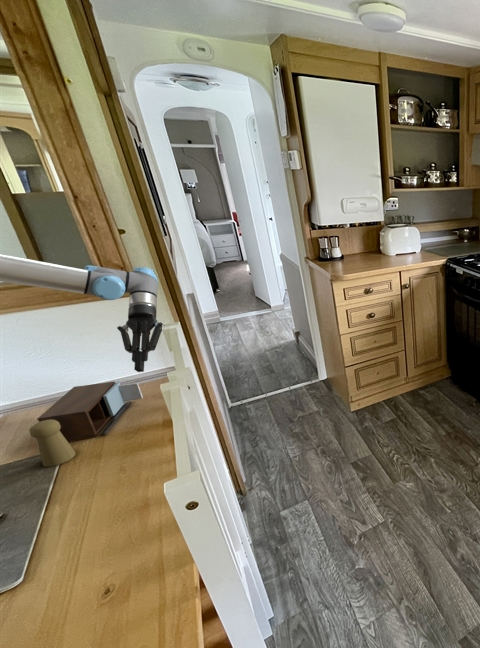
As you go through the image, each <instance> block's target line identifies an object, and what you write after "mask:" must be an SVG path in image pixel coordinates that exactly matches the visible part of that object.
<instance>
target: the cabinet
mask: <svg viewBox="0 0 480 648" xmlns="http://www.w3.org/2000/svg"><path fill="white" fill-rule="evenodd" d="M115 383H116V381H108V382H100V383H99V382H98V383H92V384H85V385H75V386H73V387H72V388H71V389H69V390H68V391H67V392H66V393H65V394H63V396H61V397H60V398H59V399H58V400H57V401H56V402H55V403H53V404H52V405H51V406H50V407H48V409H46V410H45V411H44V412H43V413H42V414H41V415H40V416H38V417H37V421H38V422H41V421H44V420H56V421H58V422H59V423H60V430H59V431H60V432H61V433H62V435H63V436H64V438H65V439H66V440H67V442H68V443H69V442H74V441H80V440H85V439H91V438H97V436H98V435H99V434H100V436H101V437H104V436H107V434H108V433H109V432H110V431H111V430H112V428H113V427H114V426H115V424H116V423H117V422H118V421H119V420H120V418H121V417H122V416H123V414H124V413H125V412H126V410H127V409H128V408H129V407H130V406H131V405H132V402H131V401H132V400H130V401H126V402H125V403H124V404H123V406H122V407H121V408H120V409H119V410H118V412H117V413H116V414H115V415H114V416H110V413H109V411H108V408H107V406H106V403H105V401H104V398H103V396H104V395H105V394H106V393H107V392H108V391H109V390H110V389H111V387H112V386H113V385H114V384H115Z"/></svg>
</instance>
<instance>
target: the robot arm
mask: <svg viewBox="0 0 480 648" xmlns="http://www.w3.org/2000/svg"><path fill="white" fill-rule="evenodd" d="M134 268H135V269H134ZM134 268H133V269H134V271H133V272H131V271H125V270H119V269H114V268H108V267H104V266H100V265H99V266H98V265H97V266H96V265H88V264H87V265H85V266H84V268H78V267H74V266H73V267H72V266H66V265H61V264H56V263H51V262H45V261H40V260H34V259H30V258H23V257H19V256H14V255H8V254H2V253H0V282H3V283H9V284H16V285H21V286H22V285H24V286H29V287H34V288H37V287H38V288H42V289H49V290H56V291H62V292H67V293H68V292H69V293H75V294H76V293H77V294H83V295H89V296H95V297H98V298H99V299H102V300H104V301H114V300H115V301H116V300H118V299H120V298H121V297H123V295H124V294H126V293H127V294H129V298H128V299H129V300H128V311H127V321H126V322H125V324H123V325H119V326H117V327H116V328H117V331H119V332H120V336H121V340H122V343H123V347H124V350H125V352H127V353H128V354H131V362H132V363H134V371H136V372H137V373H143V372H145V362H148V360H149V353H150V352H154V351H155V350H156V348H157V345H158V343H159V339H160V337H161V334H162V331H163V330H162V325H164V323H163V322H162V321H161V322H158V320H157V310H158V309H157V306H158V289H159V279H158V280H157V277H156V275H155V274H154V272H153V270H154V269H152V268H150V267H146V266H142V267H140V266H136V267H134ZM149 268H150V269H149ZM151 269H152V270H151ZM129 330H131V333H132V338H130V334H129V333H128V332H129ZM152 330H153V331H152ZM151 331H152V334H151ZM150 336H151V337H150ZM131 339H132V340H131Z"/></svg>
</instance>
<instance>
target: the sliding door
mask: <svg viewBox="0 0 480 648" xmlns="http://www.w3.org/2000/svg"><path fill="white" fill-rule="evenodd" d="M103 398H104V401H105V403H106V406H107V408H108V411H109V413H110V416H113V417H115V416H116V414H117V413H118V412H119V411H120V410H121V408H122V407H123V406H124V405H125V404H126V402H129V401H137V400H142V399H144V396H143V394H142V390H141V388H140V385H139V382H132V383H131V382H130V383H124V384H121V382H120V381H115V384H114V385H113V386H112V387H111V389H110V390H109V391H108V392H107V393H106V394H105V395H104V396H103Z"/></svg>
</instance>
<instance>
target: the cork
mask: <svg viewBox="0 0 480 648" xmlns="http://www.w3.org/2000/svg"><path fill="white" fill-rule="evenodd" d="M59 430H60V423H59V422H58V421H56V420H44V421H41V422H39V421H38V422H36V423H34V424H32V425H31V427H30V428H29V435H30V436H31V437H32V438H33V439H35V440H36V444H37V447H38V451H39V455H40V458H41V463H42V466H43V467H47V468H48V467H54V466H55V467H56V466H59V465H61V464H65V463H66V462H68V461H70V460H71V459H73V458H74V457H75V456H76V451H75V450H74V448H73V447H72V445H71V444H70V443H69V442H67V440H66V439H65V438H64V436H63V435H62V433H61V432H60V431H59Z"/></svg>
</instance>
